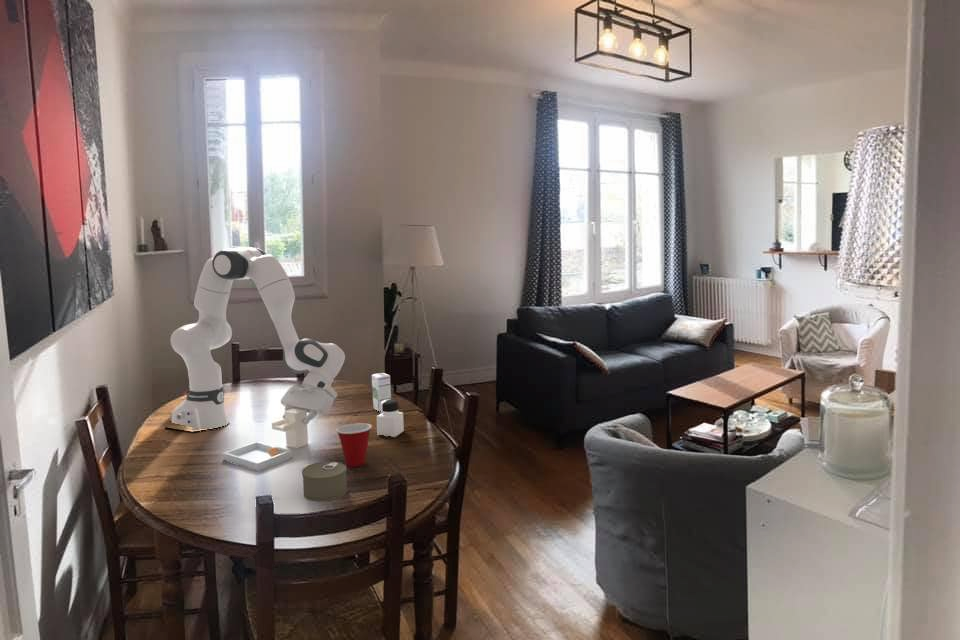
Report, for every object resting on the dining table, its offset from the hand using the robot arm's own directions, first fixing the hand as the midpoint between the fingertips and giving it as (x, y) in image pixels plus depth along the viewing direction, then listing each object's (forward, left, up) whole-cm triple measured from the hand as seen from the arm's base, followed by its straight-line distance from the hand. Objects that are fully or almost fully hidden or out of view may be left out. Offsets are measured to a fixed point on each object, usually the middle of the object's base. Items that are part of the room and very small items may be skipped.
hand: (294, 421), depth 215 cm
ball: (-1, -13, -6) cm, 14 cm away
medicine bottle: (+27, +19, -9) cm, 34 cm away
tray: (-5, -14, -8) cm, 18 cm away
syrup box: (+13, +46, -9) cm, 48 cm away
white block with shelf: (-1, -2, -8) cm, 9 cm away
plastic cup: (+27, -11, -9) cm, 30 cm away
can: (+28, -33, -9) cm, 44 cm away
